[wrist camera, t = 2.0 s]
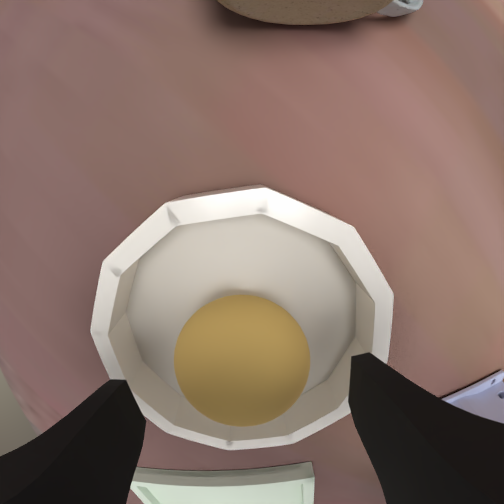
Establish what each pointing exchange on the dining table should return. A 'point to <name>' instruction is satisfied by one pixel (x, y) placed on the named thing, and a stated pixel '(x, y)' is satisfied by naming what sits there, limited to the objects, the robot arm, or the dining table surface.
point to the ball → (241, 360)
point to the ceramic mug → (318, 10)
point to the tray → (226, 486)
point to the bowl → (240, 283)
